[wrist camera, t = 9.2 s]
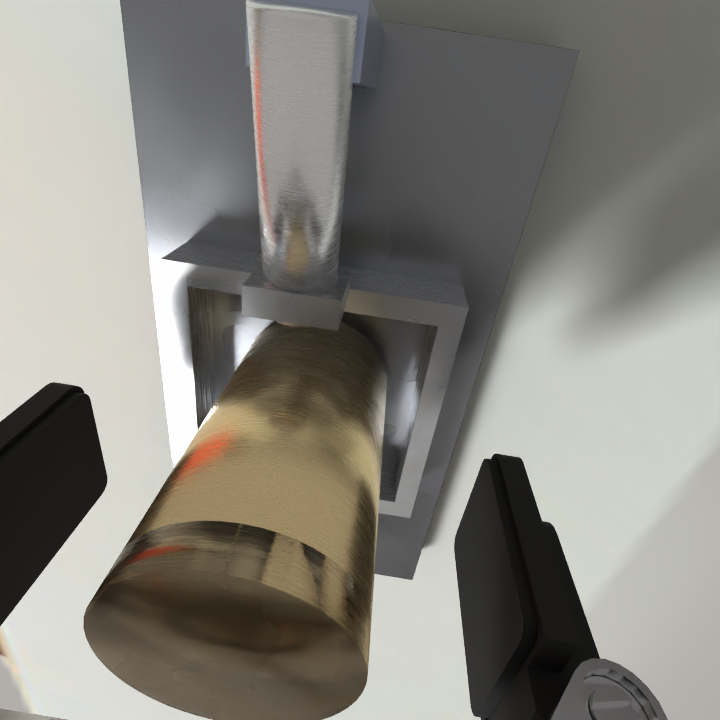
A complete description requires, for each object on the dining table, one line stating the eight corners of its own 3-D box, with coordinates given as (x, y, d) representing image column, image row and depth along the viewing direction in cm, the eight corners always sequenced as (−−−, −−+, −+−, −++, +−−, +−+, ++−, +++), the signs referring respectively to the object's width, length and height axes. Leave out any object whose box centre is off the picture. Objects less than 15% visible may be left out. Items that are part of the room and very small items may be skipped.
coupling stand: (561, 55, 10) (738, 5, 5) (411, 554, 19) (413, 731, 14) (146, -8, 10) (-143, -126, 5) (193, 518, 19) (111, 680, 14)
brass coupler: (375, 445, 15) (349, 742, 8) (245, 424, 15) (108, 702, 8) (398, 327, 13) (389, 600, 6) (244, 303, 13) (54, 546, 6)
